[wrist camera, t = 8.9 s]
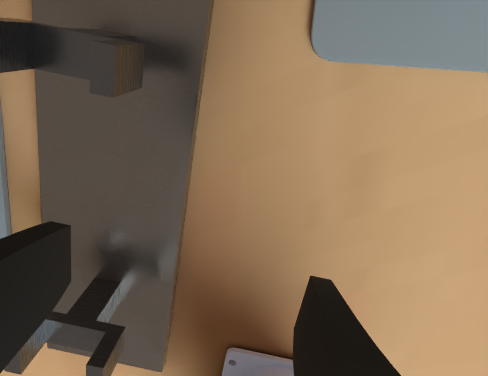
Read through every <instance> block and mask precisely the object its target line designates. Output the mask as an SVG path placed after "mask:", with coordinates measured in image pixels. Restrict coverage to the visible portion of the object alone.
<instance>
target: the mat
mask: <svg viewBox="0 0 488 376" xmlns="http://www.w3.org/2000/svg"><path fill="white" fill-rule="evenodd" d="M9 235H12V233H11V221H10V209H9V198H8V186H7V174H6V162H5V150H4V139H3V127H2V115H1V103H0V239H1V238H4V237H6V236H9Z"/></svg>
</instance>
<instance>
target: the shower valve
mask: <svg viewBox="0 0 488 376" xmlns="http://www.w3.org/2000/svg"><path fill="white" fill-rule="evenodd" d="M311 44H312V48H313V50H314V52H315V53H316V54H317V55H318V56H319V57H321V58H323V59H325V60H328V61H332V62H344V63H358V64H373V65H387V66H401V67H416V68H430V69H444V70H459V71H473V72H488V0H315V1H314V9H313V17H312V26H311Z"/></svg>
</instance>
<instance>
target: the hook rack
mask: <svg viewBox="0 0 488 376" xmlns="http://www.w3.org/2000/svg"><path fill="white" fill-rule="evenodd" d="M213 2H214V0H32V16H33V22H32V21H27V20H22V19H10V18H0V73H3V72H11V71H19V70H27V69H35V82H36V104H37V126H38V148H39V170H40V192H41V214H42V224H43V223H46V222H50V221H53V222H57V223H62V224H67V225H71V283H70V284H69V286H68V287H67V289H66V291H65V292H64V294H63V296H62V297H61V299H60V300H59V302H58V303H57V305H56V306H55V308H54V309H53V311H52V312H51V313H50V314H49V316H48V317H47V318H46V319H45V321H44V322H43V323H42V324H41V325H40V327H39V328H38V329H37V330H36V332H35V333H34V334H33V335H32V336H31V337H30V339H29V340H28V341H27V342H26V343H25V345H24V346H23V347H22V348H21V349H20V351H19V352H18V353H17V354H16V355H15V356H14V358H13V359H12V360H11V361H10V362H9V364H8V365H7V366H6V367H5V368H4V370H5V371H7V372H12V373H16V374H22V372H23V371H24V370H25V368H26V367H27V366H28V365H29V363H30V362H31V361H32V359H33V358H34V357H35V356H36V354H37V353H38V352H39V350H40V349H41V348H42V346H43V345H44V344H45V343H46V342H47V346H48V348H51V349H56V350H61V351H65V352H70V353H74V354H79V355H84V356H88V357H91V358H90V359H89V361H88V363H87V364H86V376H111V374H112V372H113V370H114V368H115V366H116V364H117V363H121V364H125V365H130V366H135V367H139V368H144V369H149V370H153V371H158V372H162V371H163V368H164V366H165V363H166V355H167V348H168V340H169V333H170V325H171V318H172V310H173V303H174V295H175V288H176V280H177V273H178V265H179V258H180V250H181V243H182V235H183V228H184V220H185V213H186V205H187V197H188V190H189V182H190V175H191V167H192V160H193V152H194V145H195V137H196V130H197V122H198V115H199V107H200V100H201V92H202V85H203V77H204V70H205V62H206V55H207V47H208V40H209V32H210V24H211V17H212V9H213Z"/></svg>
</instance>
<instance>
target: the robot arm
mask: <svg viewBox="0 0 488 376" xmlns="http://www.w3.org/2000/svg"><path fill="white" fill-rule="evenodd" d="M70 283H71V225H67V224H62V223H57V222H53V221H50V222H46V223H43V224H40V225H37V226H34V227H31V228H28V229H25V230H23V231H20V232H17V233H14V234H12V235H9V236H6V237H4V238H1V239H0V373H1V372H2V371H3V370H4V368H5V367H6V366H7V365H8V364H9V362H10V361H11V360H12V359H13V358H14V356H15V355H16V354H17V353H18V352H19V351H20V349H21V348H22V347H23V346H24V345H25V343H26V342H27V341H28V340H29V339H30V337H31V336H32V335H33V334H34V333H35V332H36V330H37V329H38V328H39V327H40V325H41V324H42V323H43V322H44V321H45V319H46V318H47V317H48V316H49V314H50V313H51V312H52V311H53V309H54V308H55V306H56V305H57V303H58V302H59V300H60V299H61V297H62V296H63V294H64V292H65V291H66V289H67V287H68V286H69V284H70ZM231 360H234V361H231ZM222 376H401V375H400V374H399V373H398V372H397V370H396V369H395V368H394V367H393V366H392V364H391V363H390V362H389V361H388V359H387V358H386V357H385V356H384V354H383V353H382V352H381V351H380V349H379V348H378V347H377V346H376V344H375V343H374V342H373V340H372V339H371V338H370V336H369V335H368V334H367V332H366V331H365V329H364V328H363V327H362V325H361V324H360V322H359V321H358V320H357V318H356V317H355V315H354V314H353V312H352V311H351V309H350V308H349V306H348V305H347V303H346V302H345V300H344V299H343V297H342V296H341V294H340V293H339V291H338V290H337V288H336V286H335V285H334V284H333V282H332V281H331V280H329V279H324V278H319V277H315V276H310V279H309V282H308V285H307V288H306V291H305V295H304V298H303V301H302V304H301V308H300V311H299V314H298V317H297V320H296V324H295V327H294V340H293V360H291V359H286V358H281V357H277V356H272V355H267V354H263V353H258V352H253V351H249V350H244V349H239V348H229V349H228V350H227V353H226V358H225V362H224V367H223V371H222Z"/></svg>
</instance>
